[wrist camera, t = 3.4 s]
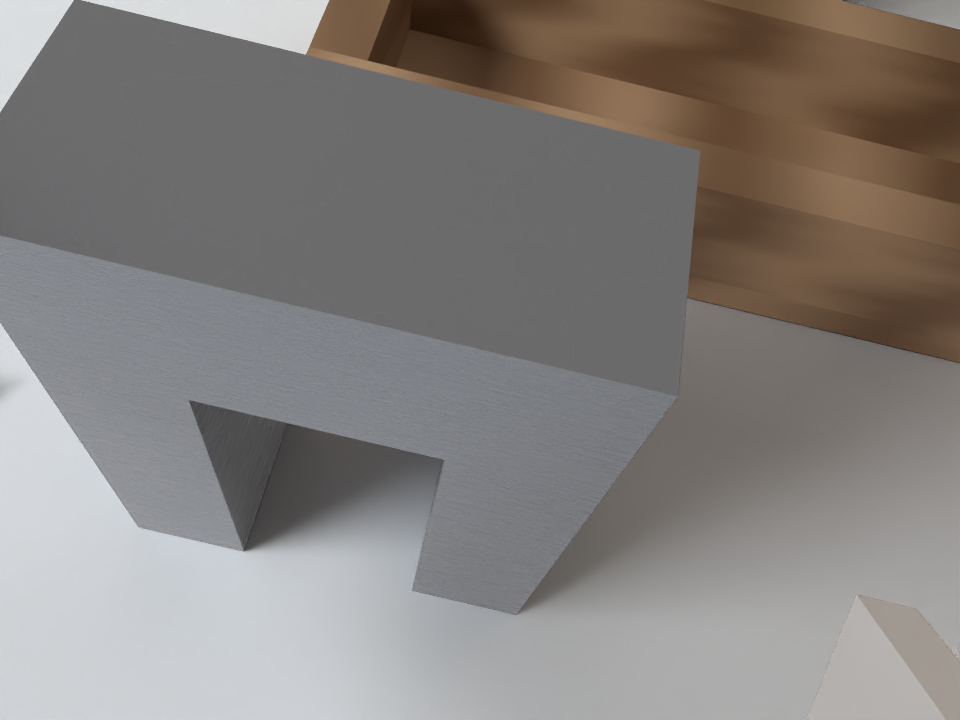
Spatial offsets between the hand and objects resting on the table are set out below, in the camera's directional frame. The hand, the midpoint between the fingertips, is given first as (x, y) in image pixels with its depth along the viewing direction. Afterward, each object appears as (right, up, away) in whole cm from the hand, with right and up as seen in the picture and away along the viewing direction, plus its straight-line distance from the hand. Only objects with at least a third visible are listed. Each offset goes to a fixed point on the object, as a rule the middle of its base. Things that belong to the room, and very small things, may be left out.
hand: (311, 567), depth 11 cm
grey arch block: (-1, -1, +11) cm, 11 cm away
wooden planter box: (+8, +8, +17) cm, 20 cm away
